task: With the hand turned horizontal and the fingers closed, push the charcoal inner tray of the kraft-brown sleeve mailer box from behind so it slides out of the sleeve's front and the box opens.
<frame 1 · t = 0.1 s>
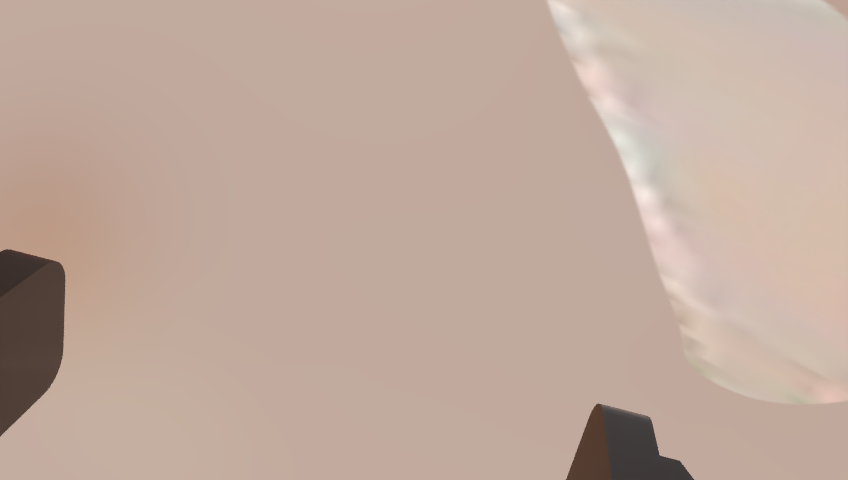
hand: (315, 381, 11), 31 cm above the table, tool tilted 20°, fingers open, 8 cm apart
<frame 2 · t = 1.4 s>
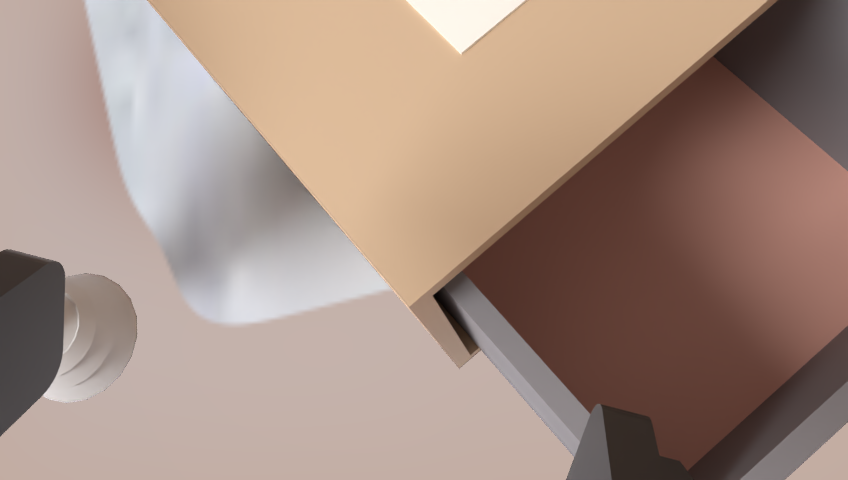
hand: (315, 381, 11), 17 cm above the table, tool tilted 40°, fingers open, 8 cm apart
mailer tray: (530, 69, 25), point 5 cm above the table, slide at 0.0 cm
chalice: (79, 337, 31), on the table
mailer sleeve: (465, 67, 31), on the table
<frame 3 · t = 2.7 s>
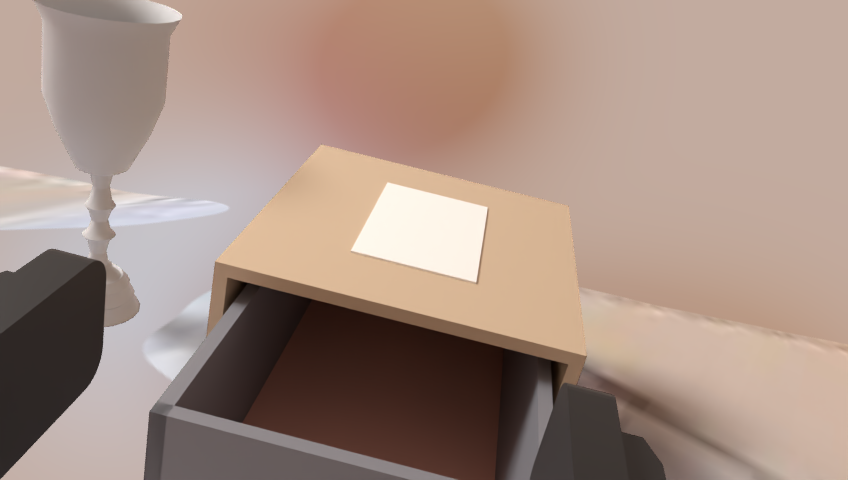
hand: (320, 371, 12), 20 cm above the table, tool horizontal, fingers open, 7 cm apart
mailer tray: (391, 362, 39), point 5 cm above the table, slide at 0.0 cm
chalice: (95, 307, 47), on the table
mailer sleeve: (386, 398, 45), on the table
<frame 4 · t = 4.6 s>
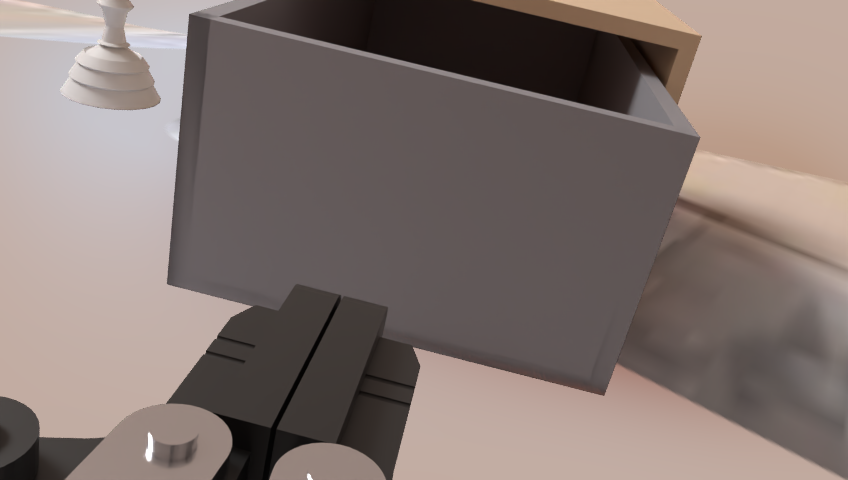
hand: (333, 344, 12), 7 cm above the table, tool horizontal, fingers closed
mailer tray: (454, 110, 34), point 5 cm above the table, slide at 0.0 cm
chalice: (111, 98, 42), on the table
mailer sleeve: (439, 187, 40), on the table
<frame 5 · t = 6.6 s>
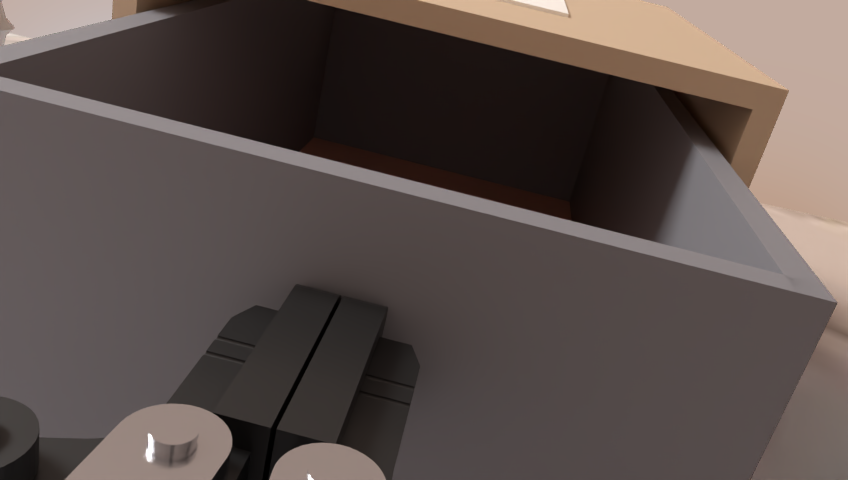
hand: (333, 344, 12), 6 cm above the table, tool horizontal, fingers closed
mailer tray: (422, 176, 25), point 5 cm above the table, slide at 0.1 cm, touching gripper
mailer sleeve: (408, 266, 31), on the table
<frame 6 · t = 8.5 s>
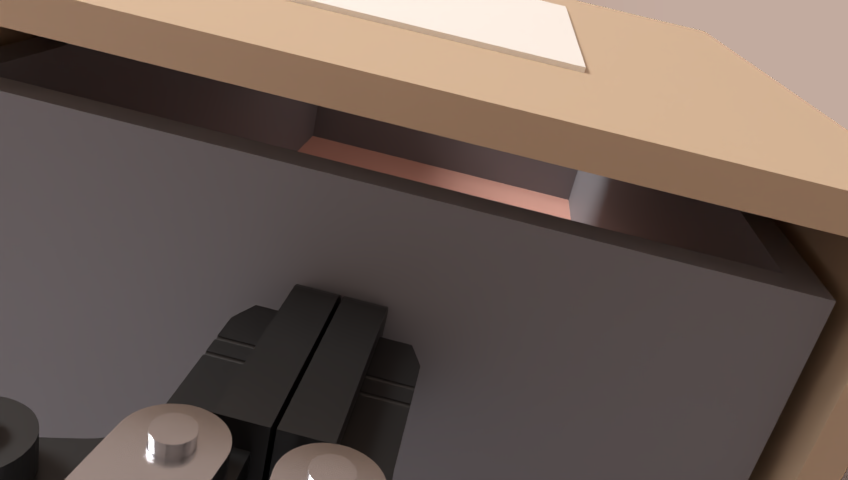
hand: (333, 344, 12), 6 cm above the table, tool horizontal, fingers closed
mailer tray: (421, 175, 25), point 5 cm above the table, slide at 8.5 cm, touching gripper
mailer sleeve: (365, 382, 23), on the table
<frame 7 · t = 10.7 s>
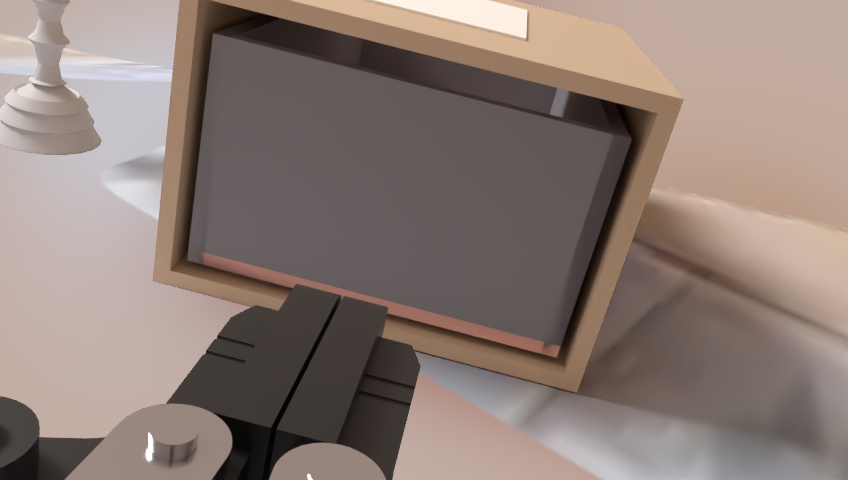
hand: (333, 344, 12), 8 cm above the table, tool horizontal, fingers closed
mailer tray: (436, 117, 39), point 5 cm above the table, slide at 8.5 cm
chalice: (46, 139, 39), on the table
mailer sleeve: (400, 243, 37), on the table
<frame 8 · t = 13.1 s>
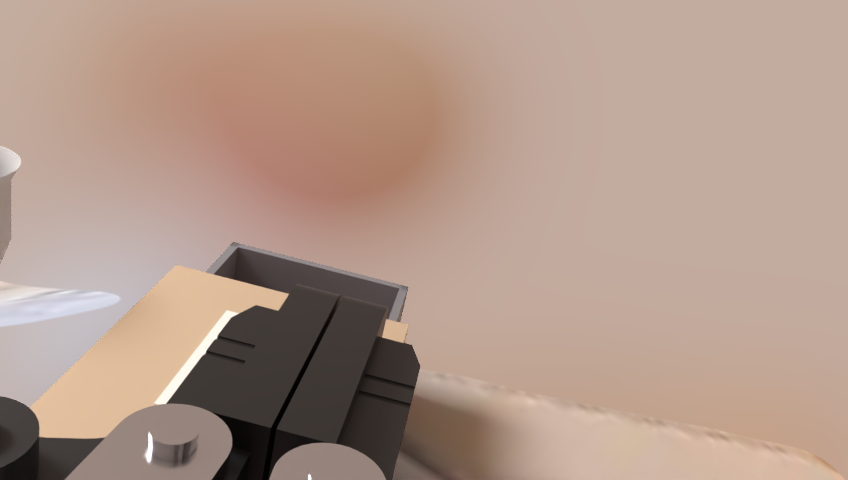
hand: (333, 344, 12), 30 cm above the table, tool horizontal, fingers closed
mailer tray: (258, 405, 50), point 5 cm above the table, slide at 8.5 cm
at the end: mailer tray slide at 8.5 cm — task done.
